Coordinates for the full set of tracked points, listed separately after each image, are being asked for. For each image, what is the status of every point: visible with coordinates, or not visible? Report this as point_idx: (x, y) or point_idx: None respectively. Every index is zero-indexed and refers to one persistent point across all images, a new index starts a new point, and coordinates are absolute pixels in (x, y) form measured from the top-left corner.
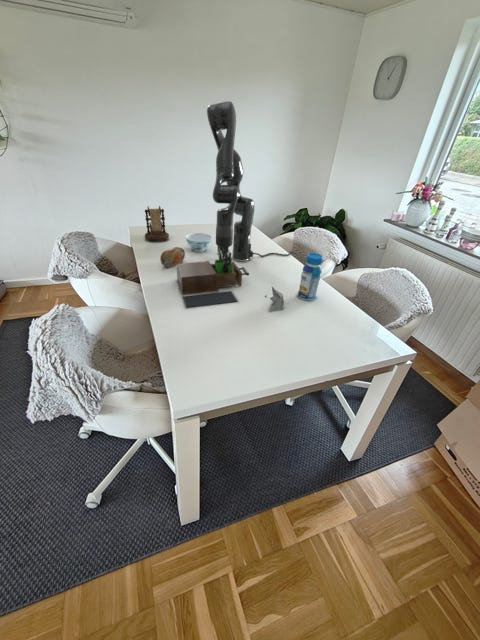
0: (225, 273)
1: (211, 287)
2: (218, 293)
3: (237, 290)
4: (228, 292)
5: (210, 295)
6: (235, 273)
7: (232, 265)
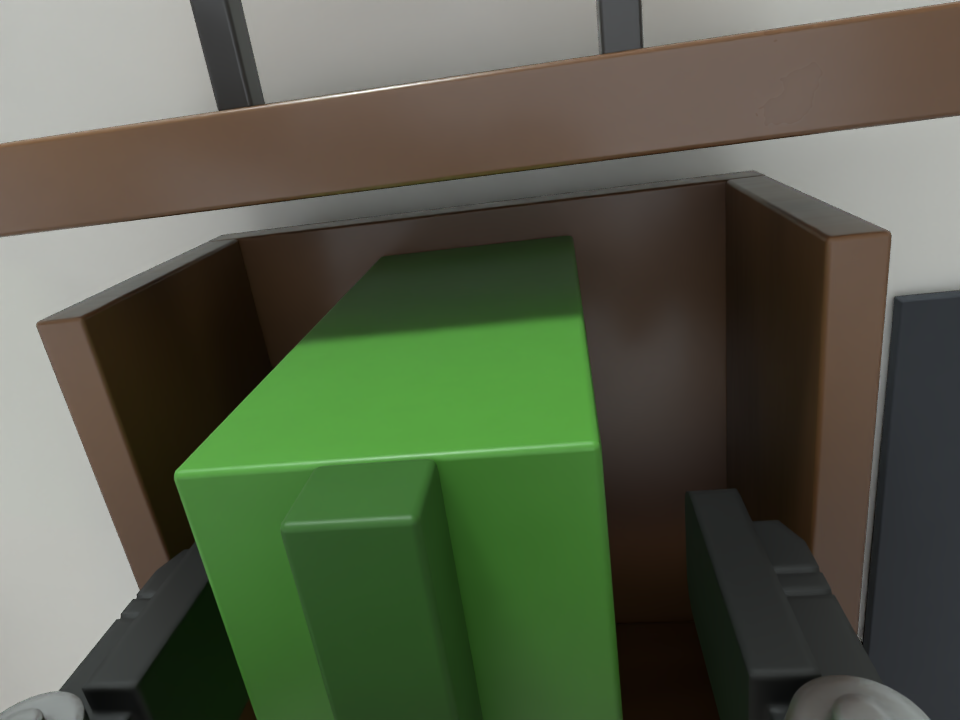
0: (819, 566)
1: None
2: (916, 521)
3: (870, 148)
4: (941, 355)
5: (938, 636)
6: (888, 268)
7: (590, 387)
